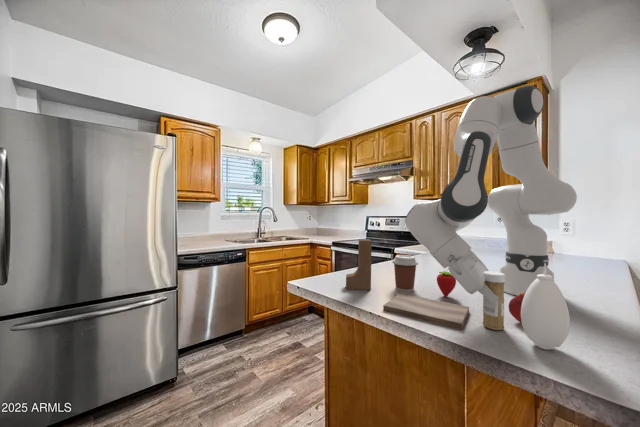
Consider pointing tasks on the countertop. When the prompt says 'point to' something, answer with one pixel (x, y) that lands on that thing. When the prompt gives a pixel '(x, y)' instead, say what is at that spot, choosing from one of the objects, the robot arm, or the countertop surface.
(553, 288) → the sauce bottle
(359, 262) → the wooden block
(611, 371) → the countertop surface
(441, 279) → the strawberry
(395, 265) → the coffee cup
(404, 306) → the walnut board
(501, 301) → the sprinkles bottle
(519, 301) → the onion
